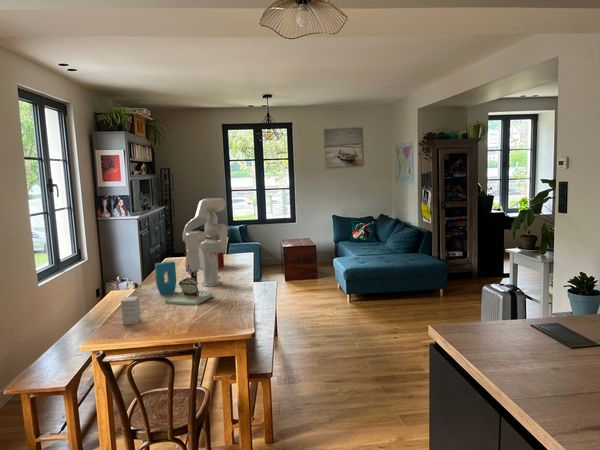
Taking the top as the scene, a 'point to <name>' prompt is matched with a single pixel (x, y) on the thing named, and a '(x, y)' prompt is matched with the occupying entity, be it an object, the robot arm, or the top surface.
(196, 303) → the board
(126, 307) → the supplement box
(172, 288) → the block
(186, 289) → the food container
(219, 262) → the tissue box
